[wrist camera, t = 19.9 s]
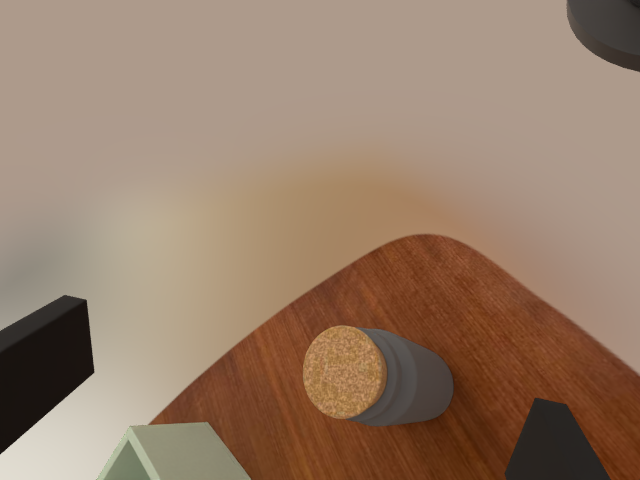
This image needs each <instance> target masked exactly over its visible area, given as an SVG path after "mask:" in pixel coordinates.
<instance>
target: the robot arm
mask: <svg viewBox="0 0 640 480" xmlns="http://www.w3.org/2000/svg"><path fill="white" fill-rule="evenodd" d="M629 1H630V2H631V3H632V4H634V5H635V6H636V7H638V8H640V0H629ZM93 373H94V365H93V355H92V346H91V337H90V327H89V317H88V308H87V300H85V299H80V298H76V297H71V296H67V295H64V296H62V297H60V298H59V299H57V300H55V301H53V302H51V303H49V304H48V305H46V306H44V307H42V308H41V309H39V310H37V311H35V312H33V313H31V314H30V315H28V316H26V317H24V318H22V319H21V320H19V321H17V322H15V323H13V324H12V325H10V326H8V327H6V328H4V329H3V330H1V331H0V454H1V453H2V452H4V451H5V450H6V449H7V448H8V447H9V446H10V445H12V444H13V443H14V442H15V441H16V440H17V439H18V438H20V437H21V436H22V435H23V434H24V433H25V432H26V431H28V430H29V429H30V428H31V427H32V426H33V425H35V424H36V423H37V422H38V421H39V420H40V419H42V418H43V417H44V416H45V415H46V414H47V413H48V412H50V411H51V410H52V409H53V408H54V407H55V406H56V405H58V404H59V403H60V402H61V401H62V400H63V399H64V398H65V397H67V396H68V395H69V394H70V393H71V392H73V391H74V390H75V389H76V388H77V387H78V386H79V385H81V384H82V383H83V382H84V381H85V380H86V379H87V378H89V377H90V376H91V375H92V374H93ZM505 476H506V479H507V480H611V479H610V477H609V476H608V474H607V472H606V471H605V469H604V467H603V465H602V464H601V462H600V460H599V459H598V457H597V455H596V454H595V452H594V450H593V449H592V447H591V445H590V444H589V442H588V440H587V439H586V437H585V435H584V433H583V432H582V430H581V428H580V427H579V425H578V423H577V422H576V420H575V418H574V417H573V415H572V413H571V412H570V410H569V408H568V406H567V405H566V404H562V403H557V402H553V401H548V400H544V399H539V398H535V399H534V402H533V404H532V407H531V409H530V412H529V414H528V417H527V419H526V422H525V424H524V427H523V429H522V432H521V434H520V437H519V439H518V442H517V444H516V447H515V449H514V452H513V454H512V457H511V459H510V462H509V464H508V467H507V469H506V472H505Z"/></svg>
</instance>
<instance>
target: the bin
mask: <svg viewBox="0 0 640 480" xmlns="http://www.w3.org/2000/svg"><path fill="white" fill-rule="evenodd" d="M96 480H252V479H251V478H250V477H249V475H248V474H247V473H246V472H245V470H244V469H243V468H242V466H241V465H240V464H239V462H238V461H237V460H236V458H235V457H234V456H233V455H232V453H231V452H230V451H229V449H228V448H227V447H226V445H225V444H224V443H223V442H222V440H221V439H220V438H219V436H218V435H217V434H216V432H215V431H214V430H213V428H212V427H211V426H210V425H209V423H208V422H204V423H203V422H201V423H181V424H161V425H141V426H130V427H129V428H128V430H127V431H126V433H125V434H124V436H123V438H122V439H121V441H120V443H119V444H118V446H117V447H116V449H115V450H114V452H113V454H112V455H111V457H110V459H109V460H108V462H107V463H106V465H105V466H104V468H103V470H102V472H101V473H100V475H99V476H98V478H97V479H96Z"/></svg>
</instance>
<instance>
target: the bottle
mask: <svg viewBox="0 0 640 480" xmlns="http://www.w3.org/2000/svg"><path fill="white" fill-rule="evenodd" d="M303 381H304V386H305V390H306V392H307V394H308V396H309V398H310V400H311V401H312V403H313V404H314V405H315V407H316V408H317V409H318V410H320V411H321V412H322V413H324V414H326V415H328V416H330V417H333V418H338V419H346V420H350V421H357V422H359V423H362V424H365V425H369V426H389V425H398V424H406V423H414V422H421V421H427V420H431V419H433V418H436V417H438V416H439V415H441V414H442V413H443V412H444V411H445V410H446V409H447V407H448V406H449V404H450V402H451V399H452V396H453V389H454V385H453V378H452V374H451V372H450V370H449V368H448V366H447V364H446V363H445V362H444V361H443V360H442V358H441V357H439V356H438V355H437V354H436V353H434V352H432V351H430V350H429V349H427V348H424V347H422V346H420V345H418V344H416V343H414V342H411V341H409V340H407V339H405V338H403V337H400V336H398V335H396V334H393V333H391V332H388V331H385V330H380V329H365V328H357V327H355V328H354V327H351V326H336V327H332V328H329V329H327V330H325V331H324V332H322V333H321V334H320V335H318V336H317V337H316V338H315V340H314V341H313V342H312V344H311V345H310V347H309V349H308V351H307V353H306V356H305V359H304V365H303Z"/></svg>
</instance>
